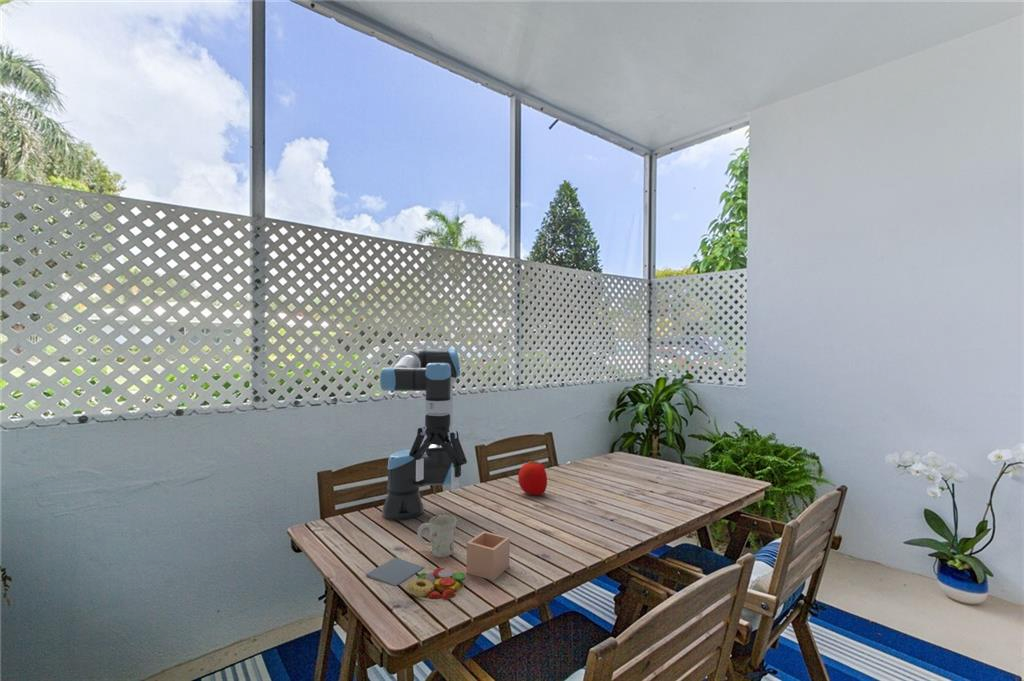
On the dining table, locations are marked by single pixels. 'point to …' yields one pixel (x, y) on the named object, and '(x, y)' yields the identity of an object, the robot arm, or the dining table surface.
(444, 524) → the mug
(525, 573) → the dining table surface
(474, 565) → the planter
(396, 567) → the coaster
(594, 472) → the dining table surface
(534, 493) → the tomato
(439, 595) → the toy food set
